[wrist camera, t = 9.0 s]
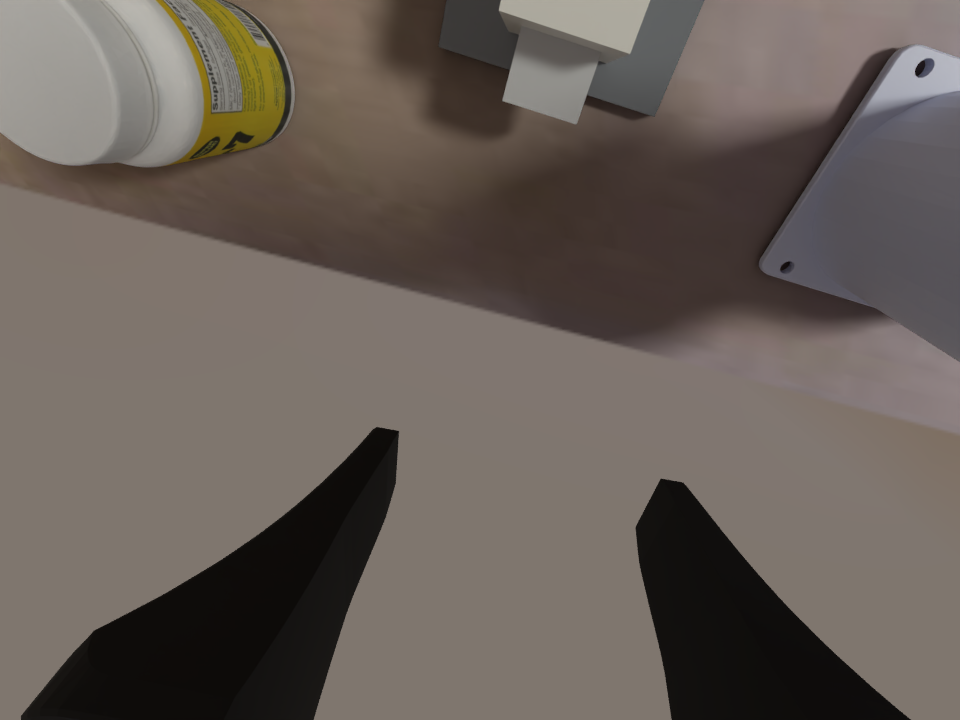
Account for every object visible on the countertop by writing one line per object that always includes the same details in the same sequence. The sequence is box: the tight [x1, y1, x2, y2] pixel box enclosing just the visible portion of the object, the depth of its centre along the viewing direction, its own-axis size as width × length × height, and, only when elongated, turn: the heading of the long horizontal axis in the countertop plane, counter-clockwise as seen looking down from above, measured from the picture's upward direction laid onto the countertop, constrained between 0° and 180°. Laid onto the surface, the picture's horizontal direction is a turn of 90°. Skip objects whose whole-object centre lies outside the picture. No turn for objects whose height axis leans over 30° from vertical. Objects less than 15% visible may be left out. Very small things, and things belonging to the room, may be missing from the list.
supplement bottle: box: [0, 0, 295, 167], centre depth 13 cm, size 5×5×8 cm
